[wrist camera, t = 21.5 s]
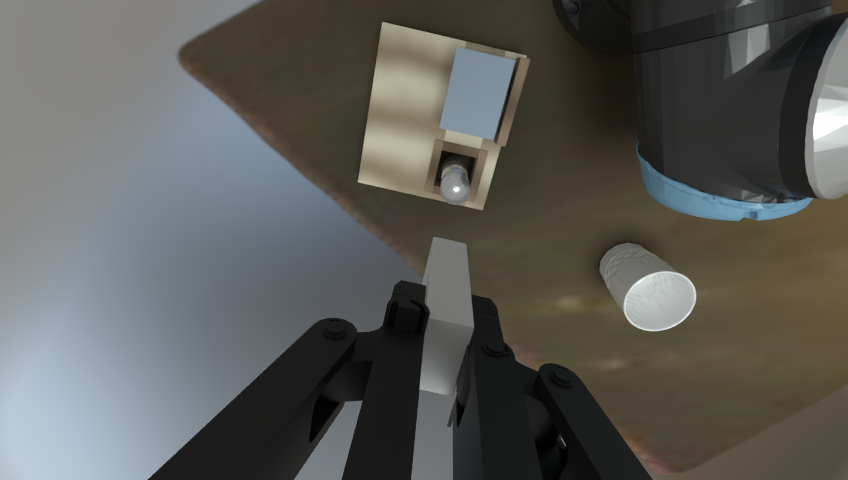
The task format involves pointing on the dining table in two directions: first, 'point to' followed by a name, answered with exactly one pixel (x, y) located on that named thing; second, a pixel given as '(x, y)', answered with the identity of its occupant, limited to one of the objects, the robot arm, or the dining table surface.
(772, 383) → the dining table surface
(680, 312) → the white cup
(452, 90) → the block
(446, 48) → the base plate
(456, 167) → the pin
